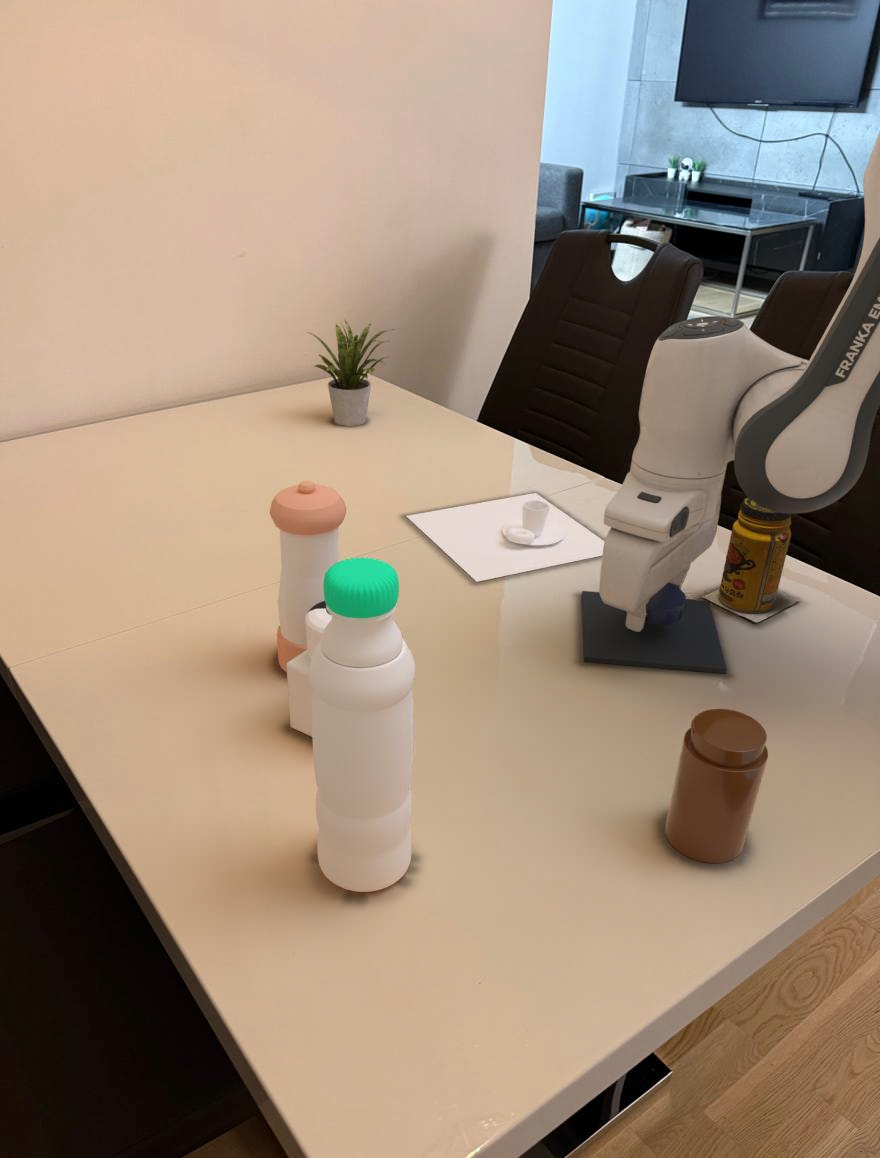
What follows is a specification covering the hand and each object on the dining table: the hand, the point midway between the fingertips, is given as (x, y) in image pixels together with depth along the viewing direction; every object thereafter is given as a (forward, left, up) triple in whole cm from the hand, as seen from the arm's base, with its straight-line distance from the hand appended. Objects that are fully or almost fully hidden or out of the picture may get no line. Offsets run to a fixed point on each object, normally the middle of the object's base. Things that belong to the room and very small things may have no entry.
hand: (652, 612), depth 100 cm
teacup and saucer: (+16, -22, -3) cm, 27 cm away
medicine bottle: (+29, +21, -3) cm, 36 cm away
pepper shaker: (+34, +11, -3) cm, 36 cm away
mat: (0, 0, -2) cm, 2 cm away
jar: (-2, +31, -2) cm, 31 cm away
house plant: (+43, -61, -3) cm, 75 cm away
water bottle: (+24, +38, -3) cm, 45 cm away
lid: (0, 0, +2) cm, 2 cm away
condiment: (-12, -9, -3) cm, 15 cm away
